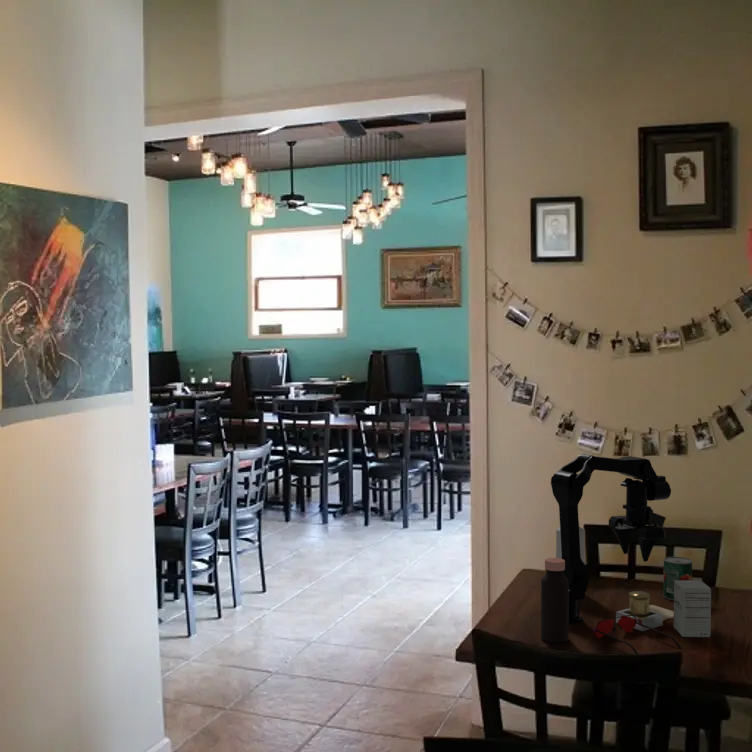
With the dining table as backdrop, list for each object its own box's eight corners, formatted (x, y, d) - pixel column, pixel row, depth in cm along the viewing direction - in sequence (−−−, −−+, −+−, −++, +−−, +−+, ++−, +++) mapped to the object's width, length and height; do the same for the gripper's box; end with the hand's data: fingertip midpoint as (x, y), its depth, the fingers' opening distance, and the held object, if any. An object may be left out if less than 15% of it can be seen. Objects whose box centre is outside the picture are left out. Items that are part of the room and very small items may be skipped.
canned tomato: (662, 592, 266) (663, 555, 266) (690, 594, 264) (691, 557, 264) (663, 600, 259) (664, 562, 258) (692, 602, 256) (693, 564, 256)
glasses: (633, 630, 234) (633, 611, 233) (682, 650, 219) (683, 630, 219) (592, 639, 227) (592, 619, 227) (639, 660, 212) (639, 639, 212)
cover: (641, 628, 234) (641, 598, 233) (624, 623, 238) (624, 593, 238) (654, 624, 237) (654, 594, 236) (637, 619, 241) (637, 590, 241)
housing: (642, 631, 232) (642, 619, 232) (615, 622, 238) (616, 611, 238) (662, 625, 237) (662, 613, 236) (636, 617, 243) (636, 606, 243)
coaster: (658, 622, 239) (658, 620, 239) (628, 612, 247) (628, 611, 247) (682, 615, 245) (682, 613, 245) (651, 606, 253) (651, 604, 253)
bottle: (568, 644, 222) (569, 564, 221) (540, 642, 224) (541, 563, 223) (567, 635, 229) (568, 557, 228) (540, 633, 230) (541, 556, 229)
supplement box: (672, 627, 234) (673, 579, 234) (701, 628, 234) (702, 579, 234) (681, 637, 227) (682, 587, 226) (711, 637, 227) (711, 587, 226)
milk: (568, 589, 270) (568, 516, 269) (585, 594, 265) (585, 519, 264) (555, 593, 266) (555, 519, 265) (572, 597, 261) (572, 522, 260)
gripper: (682, 506, 246) (680, 563, 247) (641, 495, 264) (639, 548, 264) (647, 508, 242) (646, 566, 243) (608, 497, 260) (607, 550, 261)
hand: (635, 557), depth 253 cm, fingers open, 9 cm apart
